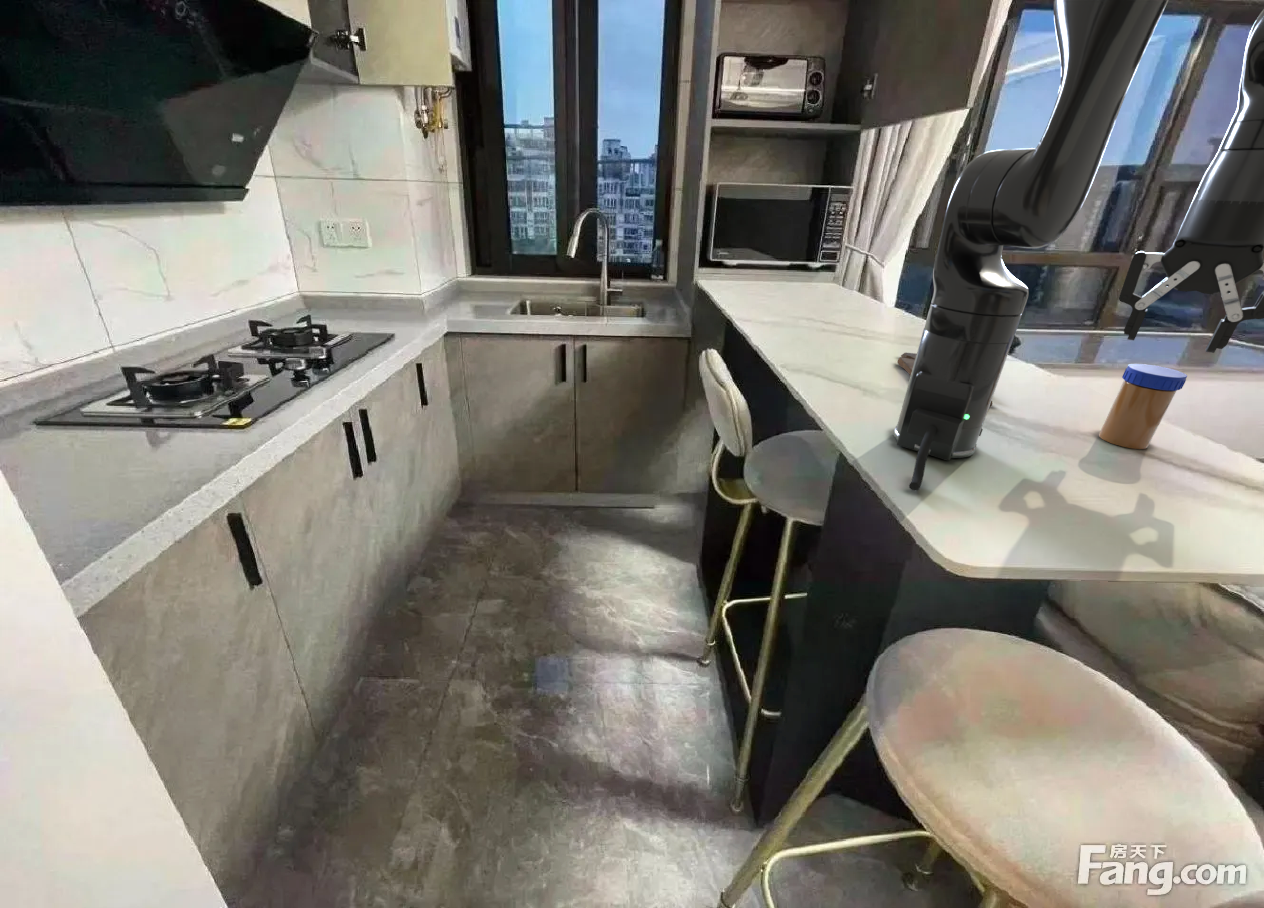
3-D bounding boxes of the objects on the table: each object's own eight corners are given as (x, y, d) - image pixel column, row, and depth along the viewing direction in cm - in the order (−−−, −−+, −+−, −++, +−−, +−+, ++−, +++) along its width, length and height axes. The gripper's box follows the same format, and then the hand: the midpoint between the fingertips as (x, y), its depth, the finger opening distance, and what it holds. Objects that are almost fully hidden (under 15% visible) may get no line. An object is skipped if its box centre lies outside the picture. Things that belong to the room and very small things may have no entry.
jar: (1146, 452, 70) (1182, 383, 66) (1096, 440, 73) (1127, 373, 69) (1148, 441, 73) (1182, 374, 69) (1100, 429, 76) (1130, 365, 72)
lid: (1181, 394, 66) (1188, 380, 65) (1120, 382, 69) (1125, 369, 68) (1181, 383, 70) (1188, 371, 69) (1123, 373, 73) (1129, 360, 72)
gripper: (1153, 195, 62) (1093, 339, 69) (1345, 200, 53) (1253, 364, 60) (1156, 196, 67) (1100, 329, 74) (1331, 201, 58) (1248, 351, 65)
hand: (1169, 344), depth 67 cm, fingers open, 7 cm apart
